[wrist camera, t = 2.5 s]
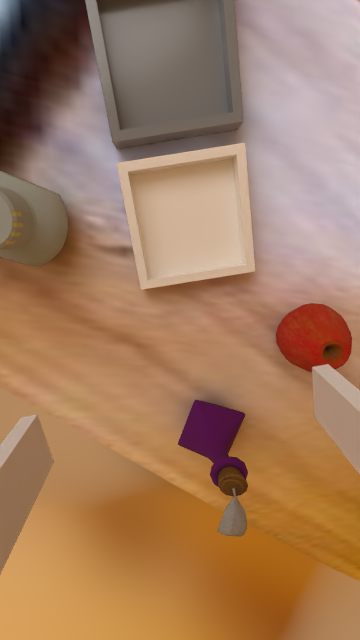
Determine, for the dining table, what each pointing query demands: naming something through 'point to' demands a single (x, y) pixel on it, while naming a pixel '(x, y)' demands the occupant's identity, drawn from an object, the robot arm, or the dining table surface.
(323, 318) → the apple
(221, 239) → the beige square dish
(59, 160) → the dining table surface
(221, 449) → the perfume bottle
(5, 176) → the air freshener
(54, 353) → the dining table surface
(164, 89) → the grey square tray
